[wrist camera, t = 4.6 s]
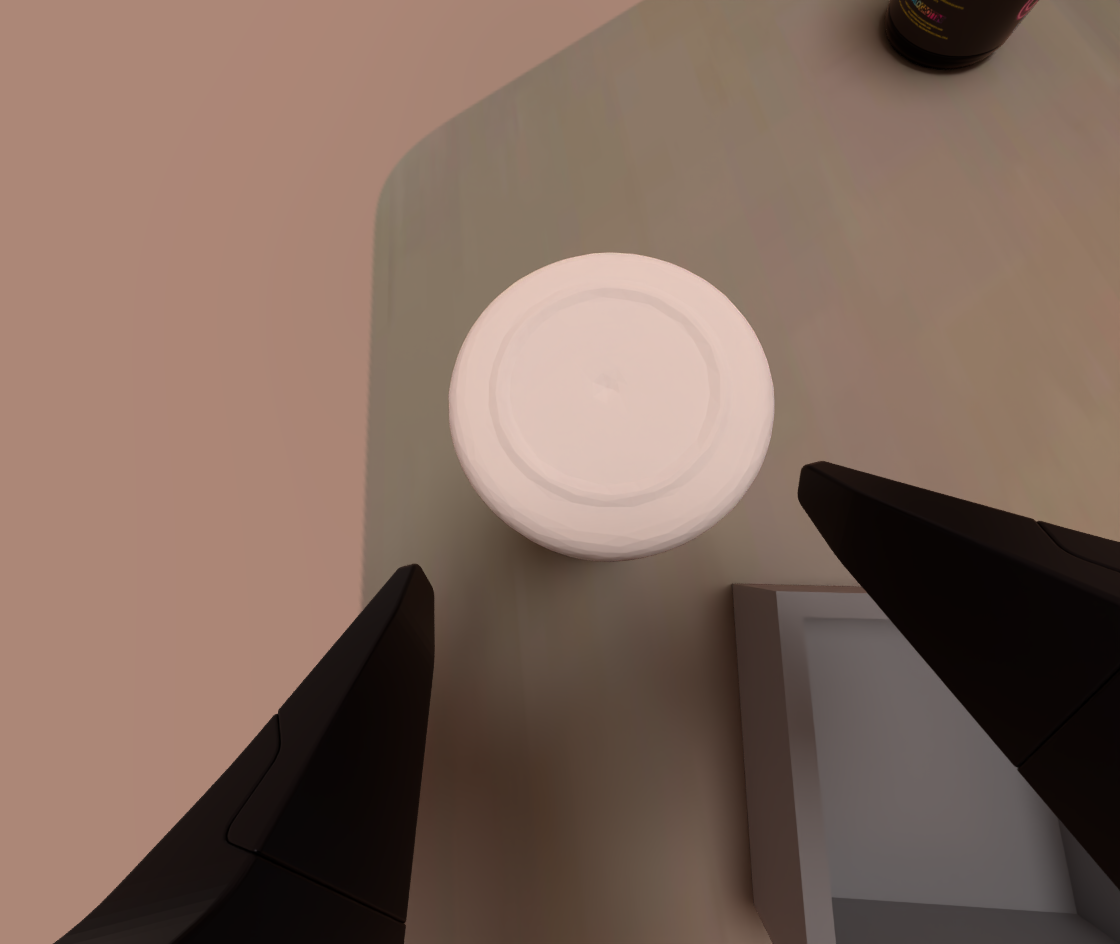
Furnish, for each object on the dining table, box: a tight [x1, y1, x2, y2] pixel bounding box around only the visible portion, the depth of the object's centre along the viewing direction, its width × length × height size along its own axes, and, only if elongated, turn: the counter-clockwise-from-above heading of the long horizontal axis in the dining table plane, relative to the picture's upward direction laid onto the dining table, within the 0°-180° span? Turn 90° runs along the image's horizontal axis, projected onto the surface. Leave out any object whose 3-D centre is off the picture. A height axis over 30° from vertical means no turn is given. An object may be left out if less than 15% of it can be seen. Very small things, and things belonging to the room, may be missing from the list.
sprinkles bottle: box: [448, 253, 774, 562], centre depth 12 cm, size 5×5×14 cm
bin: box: [732, 584, 1120, 944], centre depth 14 cm, size 12×12×4 cm
